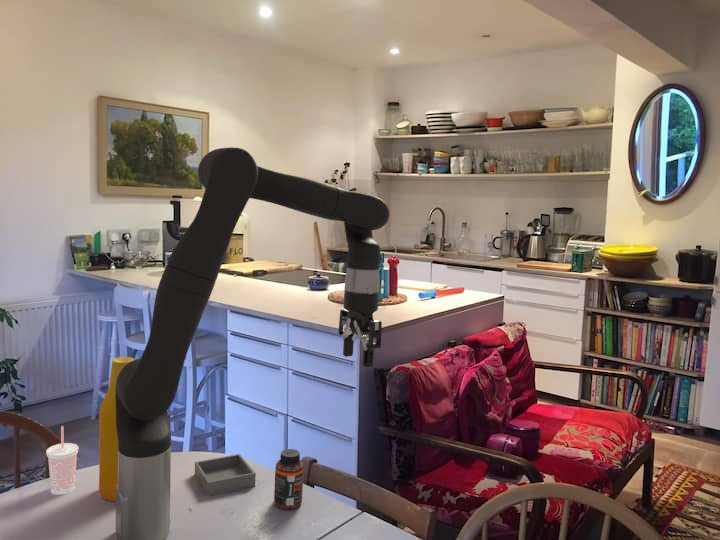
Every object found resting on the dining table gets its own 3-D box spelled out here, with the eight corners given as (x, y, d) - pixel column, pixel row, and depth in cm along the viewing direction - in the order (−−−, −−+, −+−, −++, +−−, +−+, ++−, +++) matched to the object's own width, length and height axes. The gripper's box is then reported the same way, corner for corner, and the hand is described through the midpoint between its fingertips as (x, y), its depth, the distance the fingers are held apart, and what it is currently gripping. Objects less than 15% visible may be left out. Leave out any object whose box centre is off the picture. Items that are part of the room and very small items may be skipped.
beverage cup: (40, 491, 126) (39, 427, 124) (66, 479, 131) (65, 418, 129) (59, 499, 123) (58, 434, 121) (85, 487, 128) (84, 424, 126)
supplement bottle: (297, 512, 123) (299, 460, 121) (269, 508, 124) (271, 456, 123) (305, 498, 129) (307, 448, 127) (279, 494, 130) (281, 444, 128)
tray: (208, 496, 127) (208, 482, 127) (194, 474, 136) (194, 462, 136) (255, 486, 133) (255, 473, 132) (239, 465, 142) (239, 453, 141)
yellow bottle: (93, 487, 128) (93, 356, 124) (137, 477, 134) (138, 351, 130) (105, 507, 121) (105, 368, 117) (151, 495, 127) (152, 362, 123)
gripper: (331, 283, 134) (327, 354, 136) (364, 295, 122) (359, 372, 124) (359, 283, 138) (355, 351, 140) (394, 293, 126) (389, 368, 128)
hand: (357, 361), depth 132 cm, fingers open, 8 cm apart
